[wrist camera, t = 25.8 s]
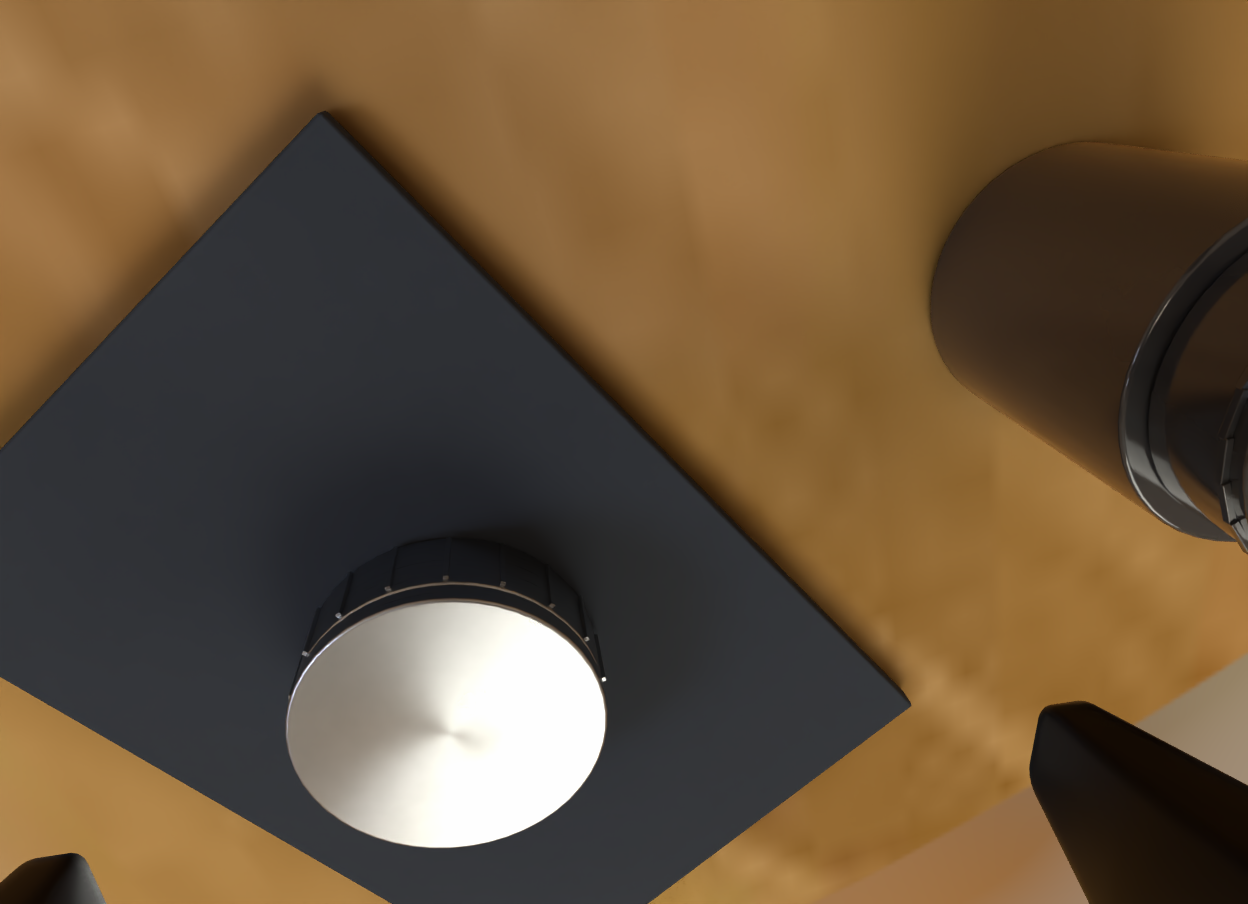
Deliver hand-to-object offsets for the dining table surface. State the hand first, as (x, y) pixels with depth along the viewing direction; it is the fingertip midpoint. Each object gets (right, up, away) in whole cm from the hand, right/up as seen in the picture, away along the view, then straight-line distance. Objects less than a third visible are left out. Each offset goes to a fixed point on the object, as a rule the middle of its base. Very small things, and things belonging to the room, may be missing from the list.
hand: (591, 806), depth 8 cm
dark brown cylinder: (+10, +7, +11) cm, 17 cm away
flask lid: (-3, -2, +11) cm, 11 cm away
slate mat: (-4, -1, +13) cm, 14 cm away
